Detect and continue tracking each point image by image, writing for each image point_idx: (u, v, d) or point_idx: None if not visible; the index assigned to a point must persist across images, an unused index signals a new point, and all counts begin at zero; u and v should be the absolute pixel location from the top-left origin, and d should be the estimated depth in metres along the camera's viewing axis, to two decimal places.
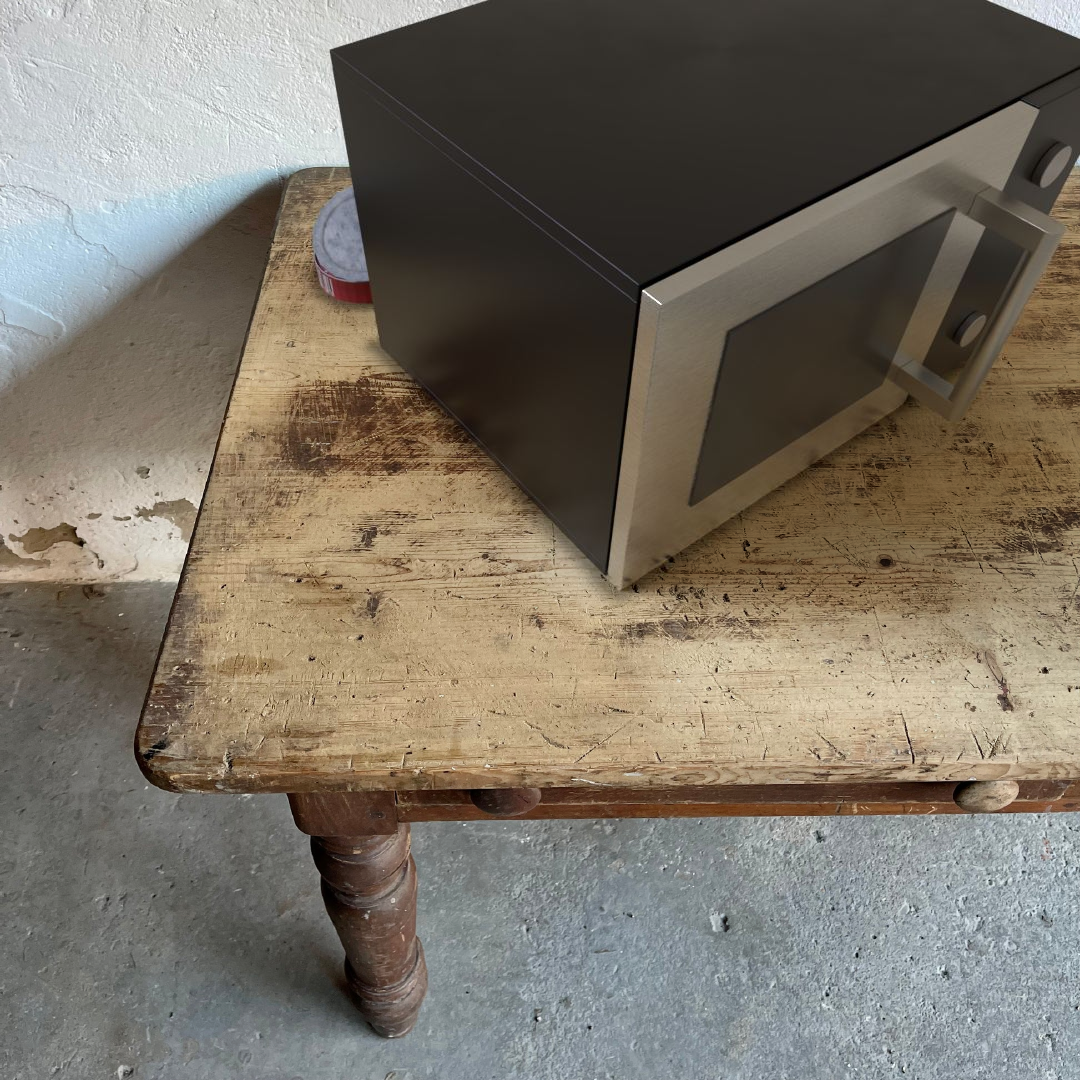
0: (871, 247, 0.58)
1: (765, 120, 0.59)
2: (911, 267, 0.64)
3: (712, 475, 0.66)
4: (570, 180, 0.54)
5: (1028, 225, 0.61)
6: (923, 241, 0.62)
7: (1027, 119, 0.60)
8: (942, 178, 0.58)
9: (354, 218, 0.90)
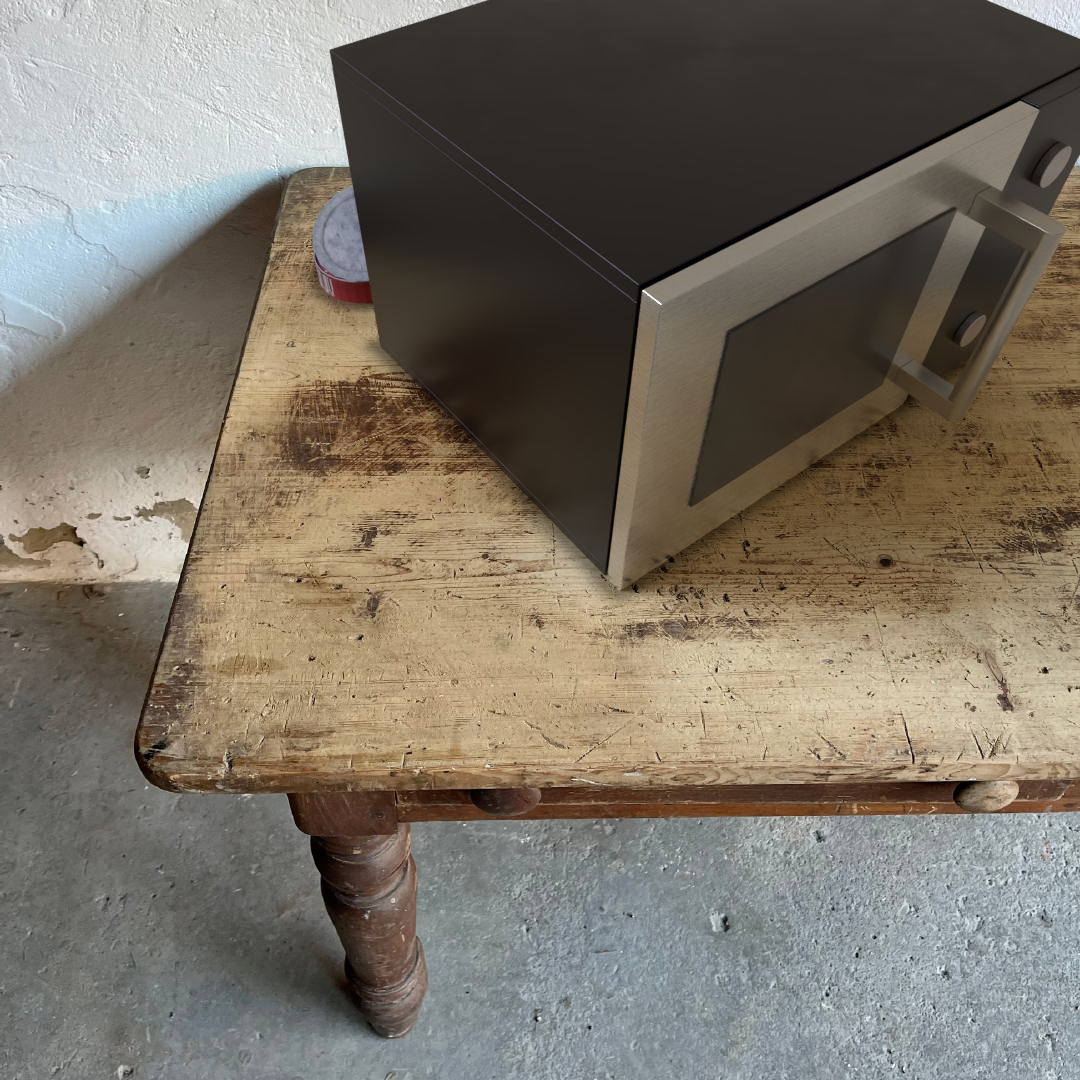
0: (871, 247, 0.58)
1: (765, 120, 0.59)
2: (911, 267, 0.64)
3: (712, 475, 0.66)
4: (570, 180, 0.54)
5: (1028, 225, 0.61)
6: (923, 241, 0.62)
7: (1027, 119, 0.60)
8: (942, 178, 0.58)
9: (354, 218, 0.90)
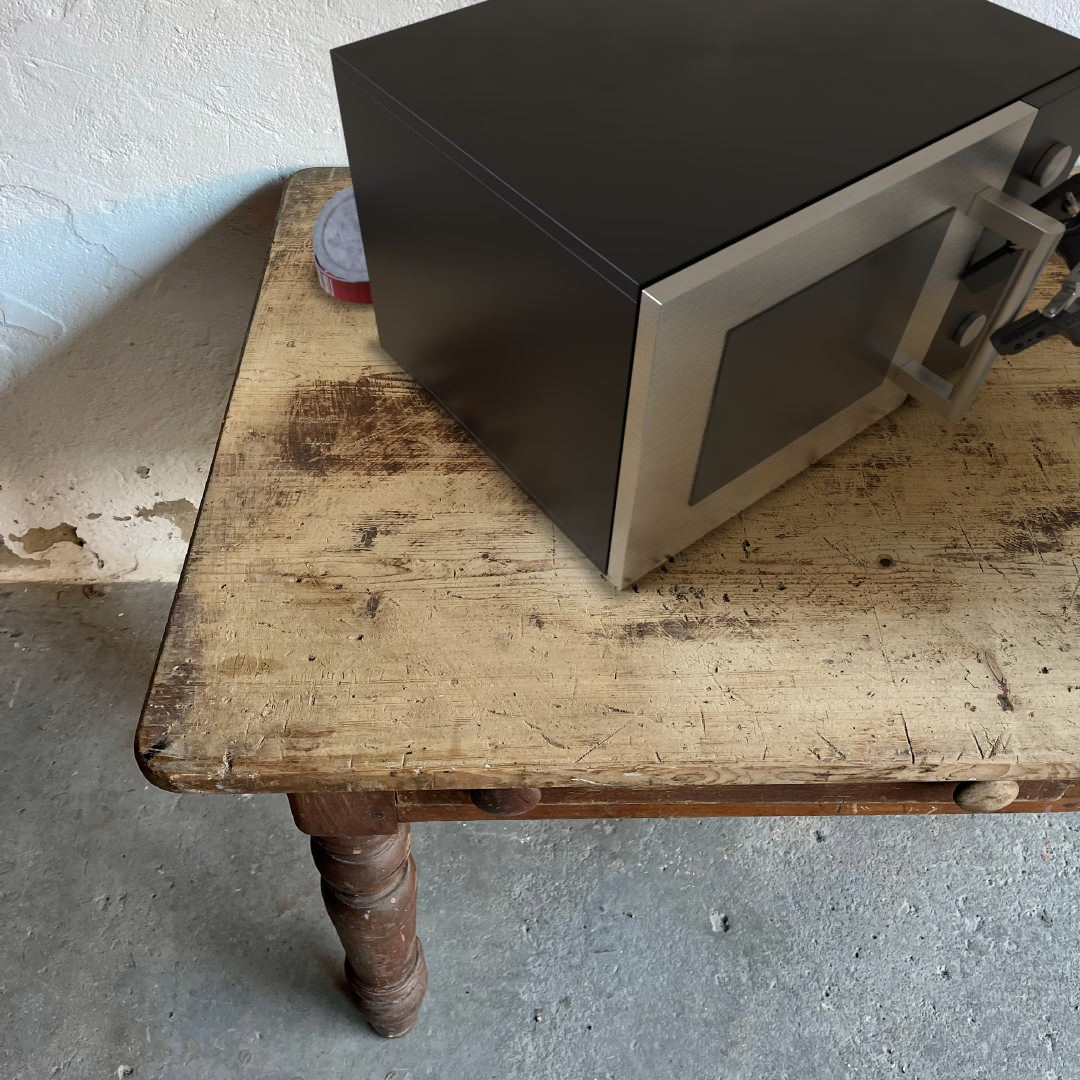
0: (871, 247, 0.58)
1: (765, 120, 0.59)
2: (911, 267, 0.64)
3: (711, 475, 0.66)
4: (570, 180, 0.54)
5: (1027, 225, 0.61)
6: (922, 240, 0.62)
7: (1027, 119, 0.60)
8: (941, 178, 0.58)
9: (354, 218, 0.90)
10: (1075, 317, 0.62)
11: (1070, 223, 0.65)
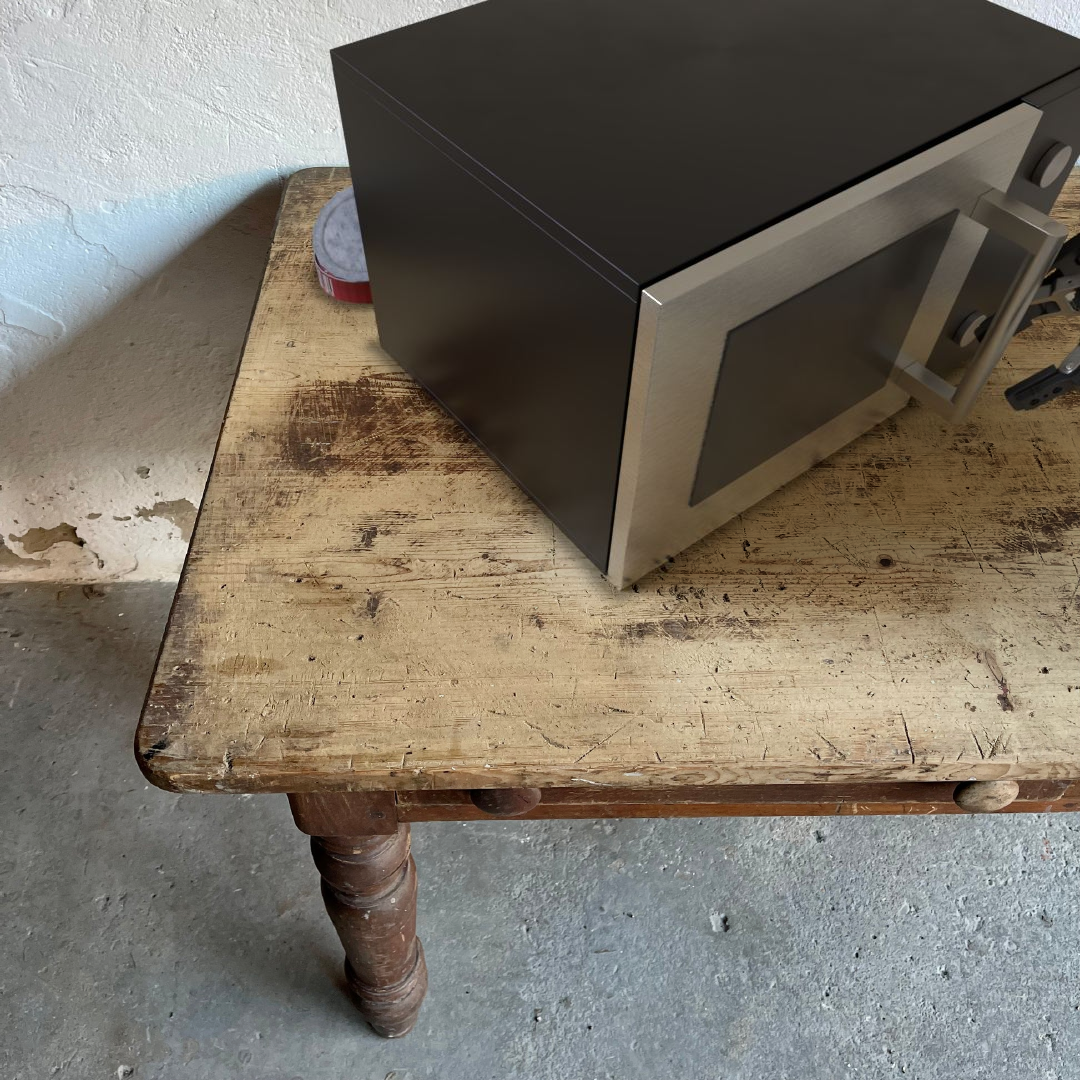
0: (873, 249, 0.58)
1: (765, 120, 0.59)
2: (913, 269, 0.63)
3: (712, 476, 0.66)
4: (570, 180, 0.54)
5: (1031, 227, 0.61)
6: (925, 242, 0.62)
7: (1031, 121, 0.60)
8: (944, 180, 0.58)
9: (354, 218, 0.90)
10: None
11: None
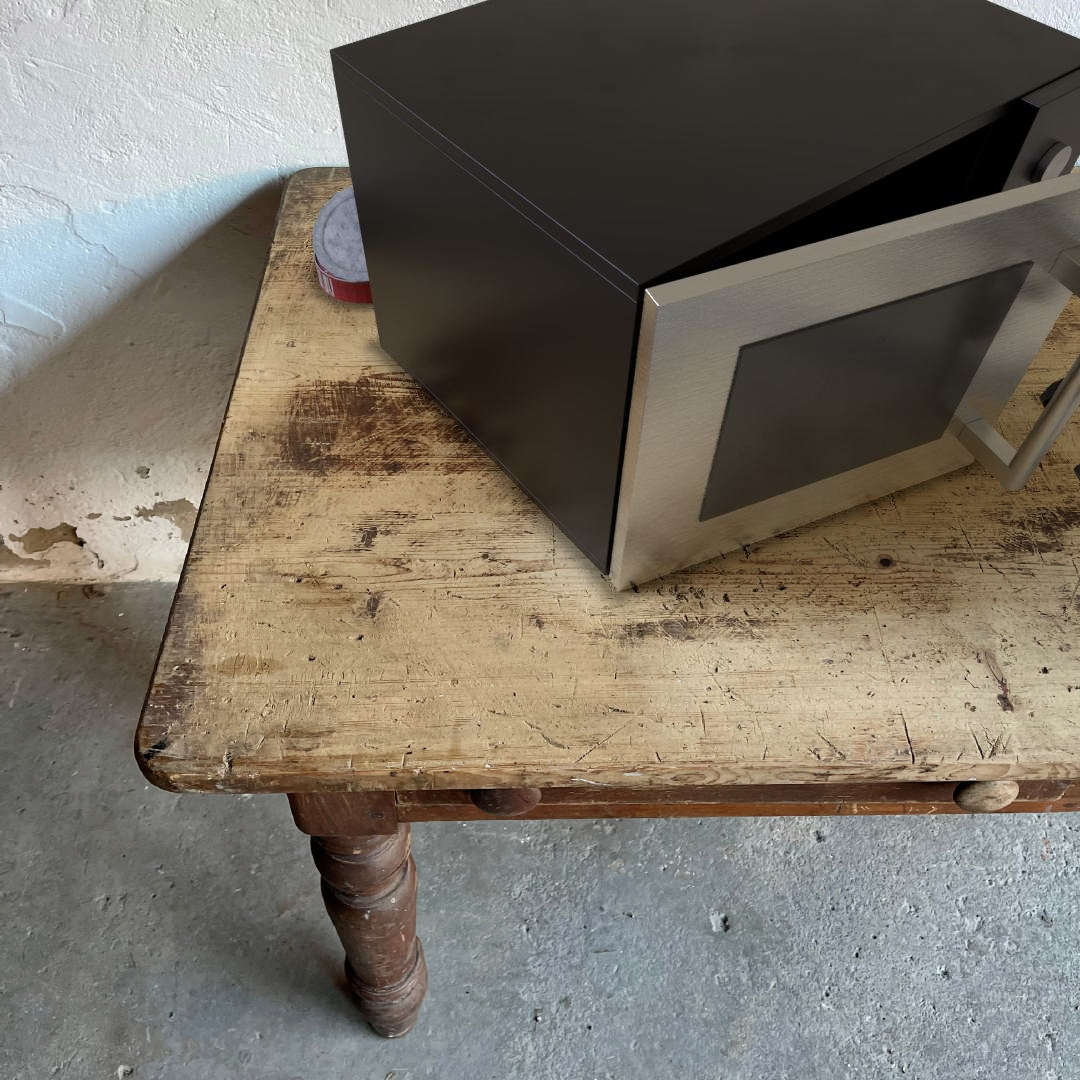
0: (922, 288, 0.56)
1: (765, 120, 0.59)
2: (974, 317, 0.60)
3: (725, 494, 0.65)
4: (570, 180, 0.54)
5: None
6: (989, 291, 0.59)
7: None
8: (1013, 227, 0.55)
9: (354, 218, 0.90)
10: None
11: None
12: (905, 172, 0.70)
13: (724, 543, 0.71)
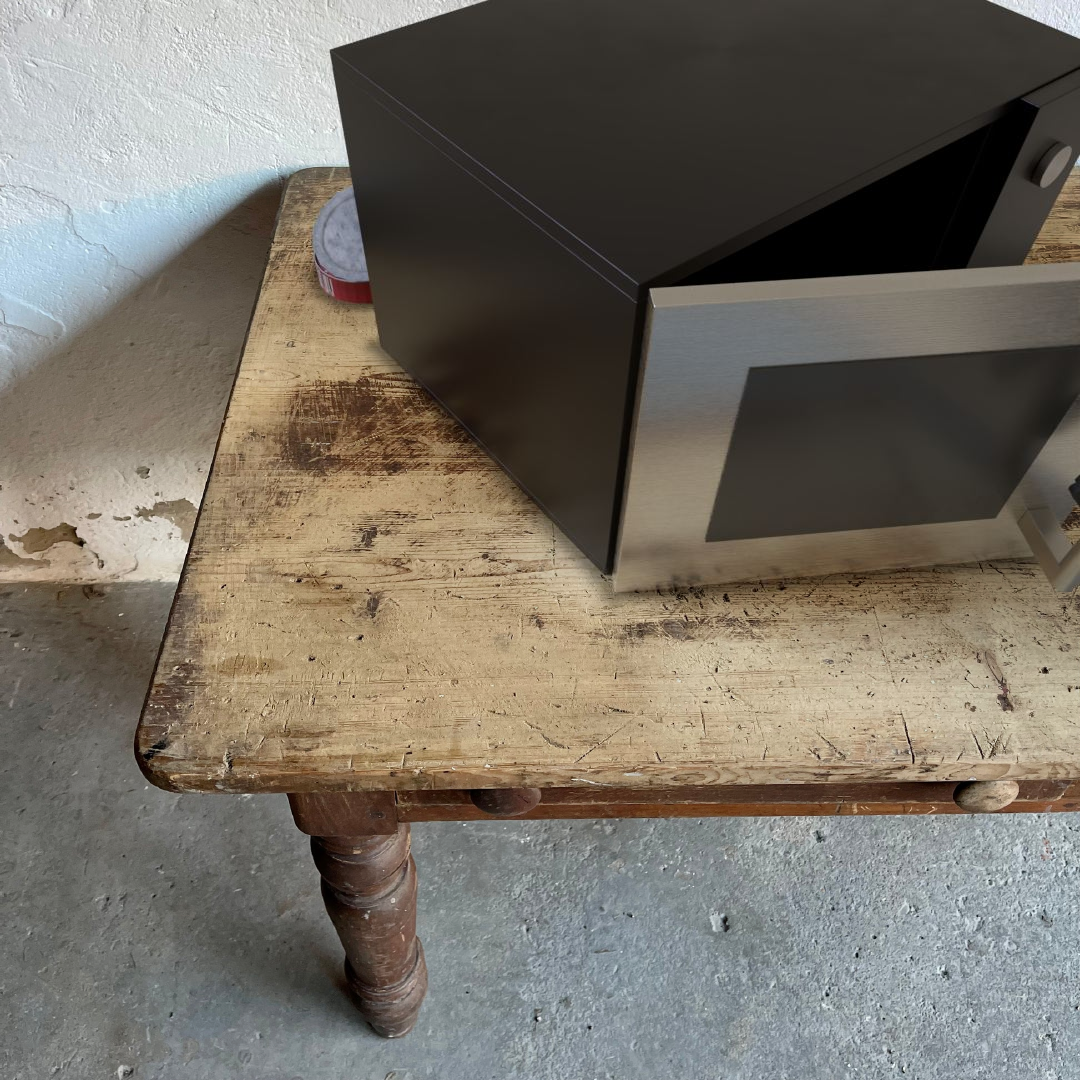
0: (967, 347, 0.52)
1: (765, 120, 0.59)
2: (1034, 392, 0.56)
3: (733, 519, 0.63)
4: (570, 180, 0.54)
5: None
6: (1052, 367, 0.54)
7: None
8: None
9: (354, 218, 0.90)
10: None
11: None
12: (905, 172, 0.70)
13: (735, 571, 0.69)
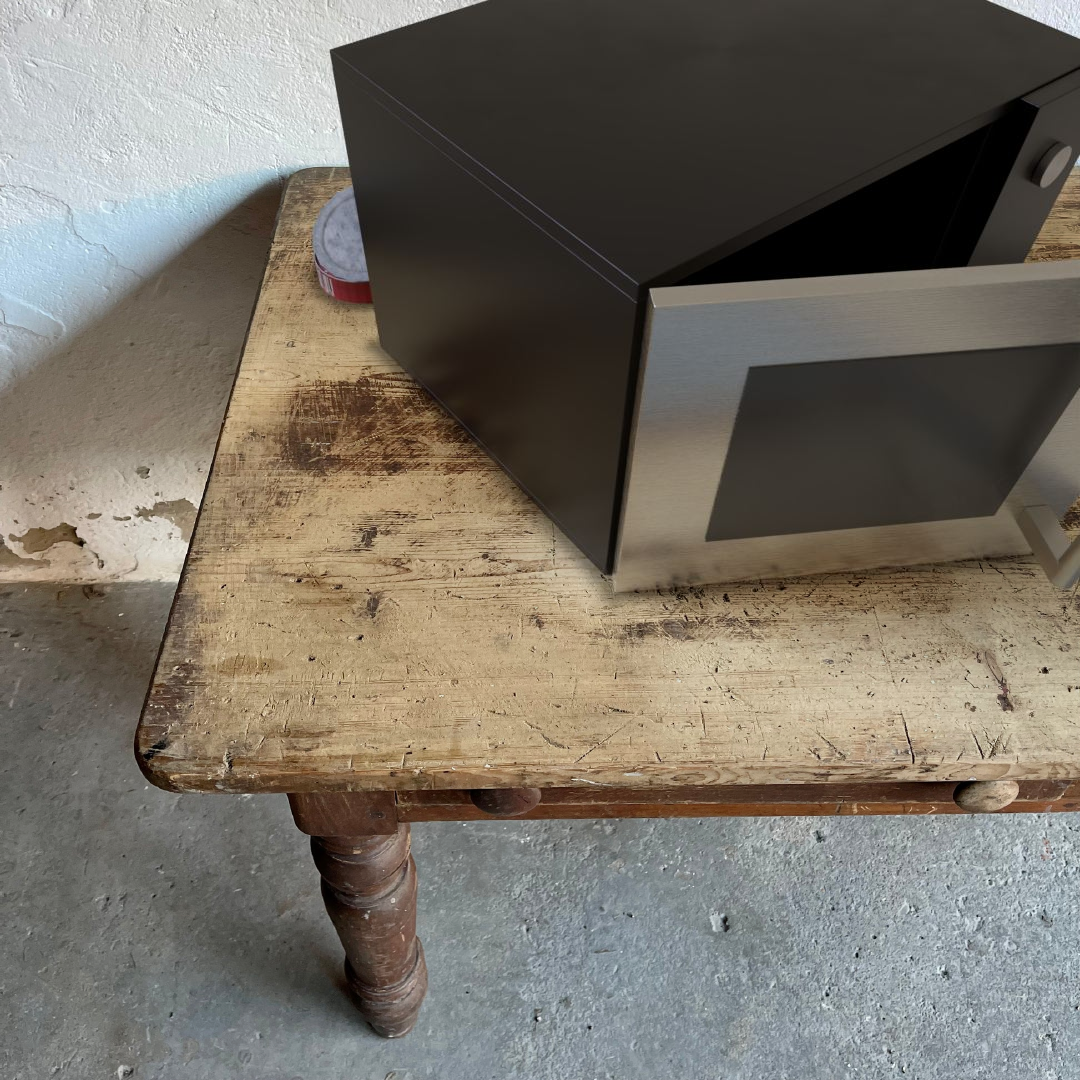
0: (966, 345, 0.53)
1: (765, 120, 0.59)
2: (1033, 390, 0.56)
3: (733, 518, 0.63)
4: (570, 180, 0.54)
5: None
6: (1050, 364, 0.54)
7: None
8: None
9: (354, 218, 0.90)
10: None
11: None
12: (905, 172, 0.70)
13: (734, 570, 0.69)
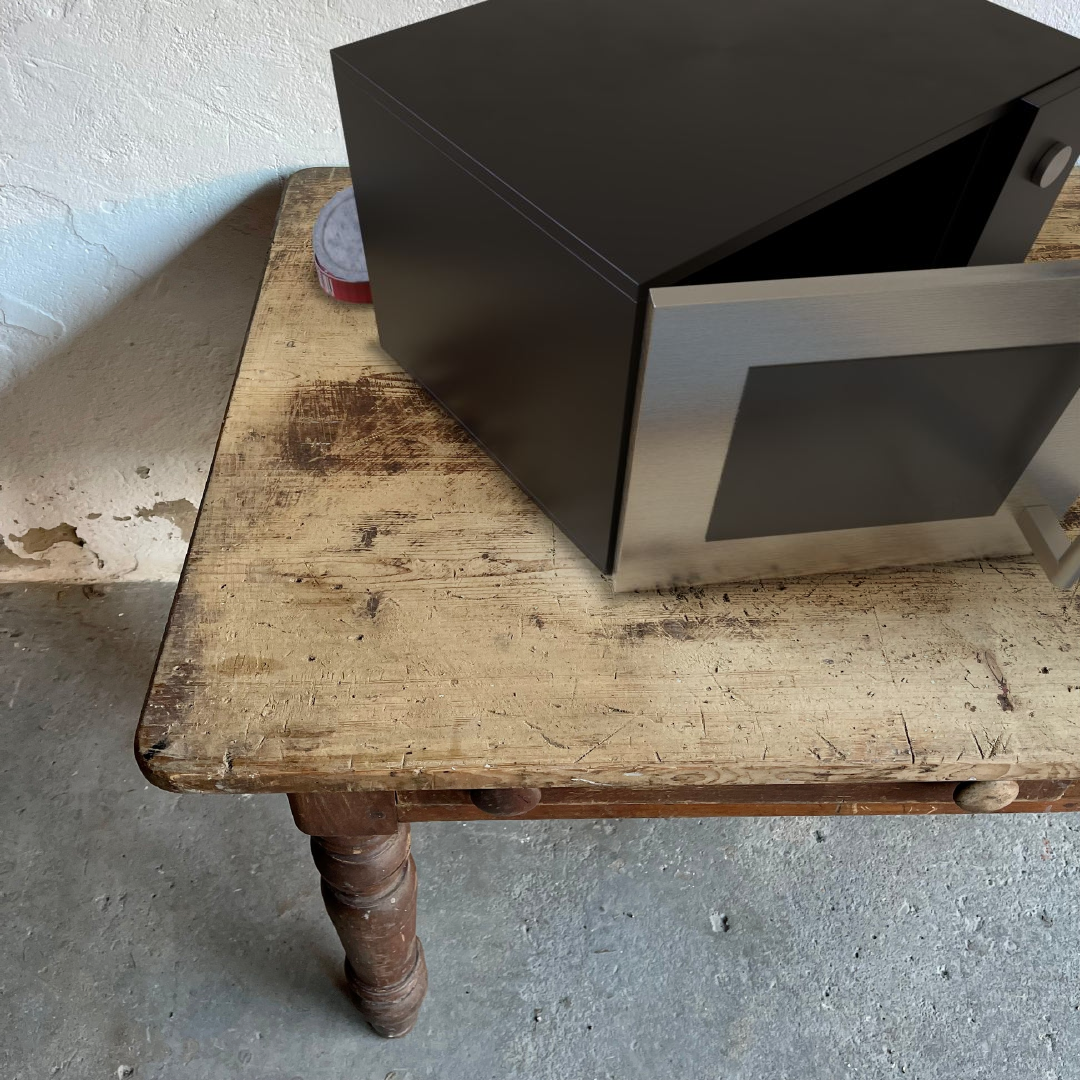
0: (966, 345, 0.53)
1: (765, 120, 0.59)
2: (1033, 390, 0.56)
3: (733, 518, 0.63)
4: (570, 180, 0.54)
5: None
6: (1050, 364, 0.54)
7: None
8: None
9: (354, 218, 0.90)
10: None
11: None
12: (905, 172, 0.70)
13: (734, 570, 0.69)
